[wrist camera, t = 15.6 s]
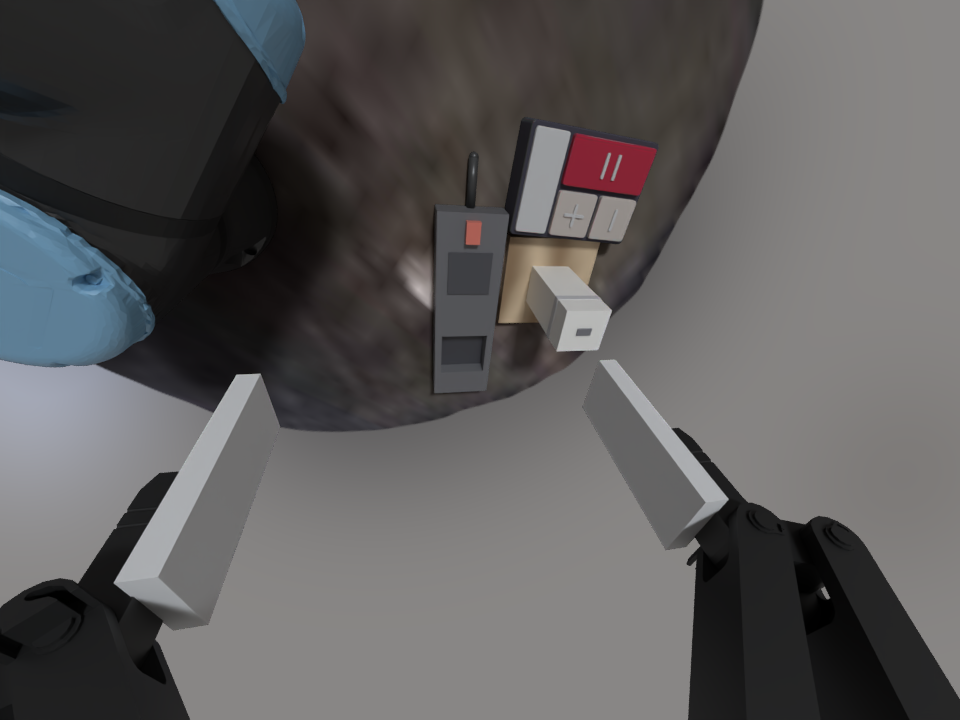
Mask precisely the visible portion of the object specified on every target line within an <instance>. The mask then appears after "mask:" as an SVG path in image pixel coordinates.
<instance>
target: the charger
mask: <svg viewBox="0 0 960 720" xmlns="http://www.w3.org/2000/svg"><path fill="white" fill-rule="evenodd" d="M526 302H527V304H528V305H529V307H530V309H531V310H532V312H533V313H534V315H535V317H536V318H537V320H538V322H539V323H540V325H541V327H542V328H543V330H544V331H545V333H546V336H547V338H548V339H549V340H550V341H551V343H552V345H553V346H554V348H555V350H556V351H582V350H598V348H599V346H600V343H601V340H602V337H603V335H604V332H605V329H606V326H607V323H608V320H609V317H610V315H611V312H612V310H611V309H610V308H609V307H608V306H607V305H606V304H605V303H604V302H603V301H602V300H601V298H600V297H599V296H597V295H596V294H595V293H594V292H593V291H592V290H591V289H590V288H589V287H588V286H587V285H586V284H585V283H584V282H583V281H582V280H581V279H580V278H579V277H578V276H577V275H576V274H575V273H574V272H573V271H572V270H571V269H570V268H569V267H566V266H532V271H531V276H530V281H529V287H528V292H527V298H526Z"/></svg>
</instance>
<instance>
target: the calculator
mask: <svg viewBox="0 0 960 720" xmlns="http://www.w3.org/2000/svg"><path fill="white" fill-rule="evenodd" d="M658 147H659V146H658V144H657V143H655V142H650V141H645V140H640V139H635V138H630V137H625V136H620V135H615V134H610V133H605V132H600V131H595V130H590V129H585V128H580V127H575V126H570V125H564V124H559V123H554V122H549V121H544V120H539V119H534V118H528V117H524V118H523V119H522V121H521V125H520V130H519V135H518V140H517V146H516V151H515V156H514V162H513V167H512V172H511V178H510V183H509V188H508V194H507V199H506V204H505V210H506V211H507V213H508V214H509V221H508V230H509V231H510V232H511V233H512V234H518V235H529V236H539V237H549V238H559V239H570V240H580V241H590V242H601V243H611V244H620V243H621V242H622V240H623V237H624V234H625V232H626V229H627V227H628V224H629V222H630V219H631V217H632V214H633V212H634V209H635V206H636V204H637V201H638V199H639V196H640V194H641V191H642V189H643V186H644V183H645V181H646V178H647V176H648V173H649V171H650V168H651V166H652V163H653V161H654V158H655V155H656V153H657V150H658Z"/></svg>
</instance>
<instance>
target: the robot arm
mask: <svg viewBox="0 0 960 720" xmlns="http://www.w3.org/2000/svg"><path fill="white" fill-rule="evenodd" d="M304 44H305V28H304V22H303V17H302V14H301V11H300V9H299V7H298V4H297V2H296V0H0V360H4V361H9V362H14V363H20V364H25V365H33V366H42V367H65V366H70V365H74V366H87V365H92V364H97V363H100V362H104V361H106V360H109V359H111V358H113V357H115V356H117V355H119V354H120V353H122V352H123V351H125V350H126V349H127V348H128V347H130V346H131V345H132V344H134V343H136V342H137V341H142V340H144V339H145V338H146V336H148V335H150V333H151V332H152V331H153V329H154V326H155V325H156V324H157V323H158V322H159V321H160V320H161V319H162V318H163V317H164V316H165V315H166V314H167V313H168V312H169V311H171V310H172V309H173V308H174V307H175V306H176V305H177V304H178V303H179V302H180V301H181V300H182V299H183V298H184V297H185V296H186V295H188V294H189V293H190V292H191V291H192V290H193V289H194V288H195V287H196V286H197V285H198V284H199V283H200V282H201V281H202V280H204V279H205V278H206V277H207V276H208V275H209V274H215V273H220V272H226V271H231V270H234V269H237V268H240V267H242V266H244V265H246V264H248V263H250V262H251V261H253V260H254V259H255V258H256V257H257V256H258V255H259V254H260V253H261V252H262V251H263V250H264V249H265V248H266V247H267V245H268V244H269V242H270V241H271V239H272V237H273V235H274V232H275V229H276V224H277V203H276V198H275V194H274V190H273V187H272V185H271V182H270V180H269V178H268V176H267V174H266V172H265V170H264V168H263V167H262V165H261V163H260V162H259V160H258V159H257V158H256V156H255V155H254V152H255V150H256V148H257V146H258V144H259V142H260V140H261V138H262V136H263V134H264V132H265V130H266V128H267V126H268V124H269V122H270V120H271V118H272V116H273V114H274V112H275V110H276V108H277V106H278V104H279V102H280V103H281V104H284V103H285V101H286V98H287V92H286V88H287V86H288V84H289V81H290V79H291V77H292V74H293V72H294V70H295V67H296V65H297V63H298V61H299V58H300V56H301V54H302V51H303V48H304ZM583 409H584V411H585V412H586V414H587V416H588V418H589V419H590V421H591V423H592V424H593V426H594V428H595V430H596V431H597V433H598V435H599V436H600V438H601V440H602V442H603V443H604V445H605V447H606V448H607V450H608V452H609V454H610V455H611V457H612V459H613V460H614V462H615V464H616V466H617V467H618V469H619V471H620V472H621V474H622V476H623V478H624V479H625V481H626V483H627V484H628V486H629V488H630V490H631V491H632V493H633V495H634V496H635V498H636V500H637V501H638V503H639V505H640V507H641V509H642V510H643V512H644V514H645V515H646V517H647V519H648V520H649V522H650V524H651V526H652V527H653V529H654V531H655V533H656V534H657V536H658V538H659V539H660V541H661V543H662V545H663V546H664V548H665V550H670V549H676V548H682V547H686V546H687V545H688V544H689V543H690V542H691V541H692V540H693V539H694V538H696V540H697V541H698V543H699V544H700V547H699V548H698V549H697V550H696V551H695V552H694V554H692V555H691V557H690V558H689V559H688V561H687V565H689V566H691V565H692V564H693V562H695V561H696V560H697V562H696V568H695V569H696V580H695V599H694V620H693V638H692V657H691V676H690V695H689V715H688V720H960V699H959V697H958V696H957V694H956V692H955V691H954V689H953V687H952V686H951V684H950V683H949V681H948V679H947V678H946V676H945V674H944V673H943V671H942V670H941V668H940V667H939V665H938V663H937V661H936V660H935V658H934V656H933V655H932V653H931V652H930V650H929V648H928V647H927V645H926V644H925V642H924V640H923V639H922V637H921V635H920V634H919V632H918V630H917V629H916V627H915V626H914V624H913V622H912V621H911V619H910V618H909V616H908V614H907V613H906V611H905V609H904V608H903V606H902V604H901V603H900V601H899V600H898V598H897V596H896V595H895V593H894V592H893V590H892V588H891V586H890V585H889V583H888V582H887V580H886V578H885V577H884V575H883V573H882V572H881V570H880V569H879V567H878V565H877V564H876V562H875V560H874V559H873V557H872V556H871V554H870V552H869V551H868V549H867V547H866V546H865V544H864V543H863V542H862V541H861V540H860V538H859V537H858V536H857V535H856V534H855V533H854V532H852V531H851V530H850V529H849V528H847V527H846V526H844V525H842V524H841V523H839V522H838V521H835V520H833V519H830V518H828V517H821V516H818V517H815V518H813V519H811V520H810V521H809V522H808V523H807V524H800V523H795V522H790V521H785V520H780V519H779V518H778V517H777V516H775V515H774V514H773V513H772V512H771V511H769V510H767V509H766V508H764V507H762V506H760V505H757V504H754V503H748V502H747V501H746V500H745V499H744V498H743V497H742V496H741V495H740V494H739V492H738V491H737V490H736V489H735V488H734V487H733V485H732V484H731V483H730V482H729V481H728V479H727V478H726V477H725V476H724V475H723V474H722V472H721V471H720V470H719V469H718V468H717V467H716V465H715V464H714V463H713V462H711V460H710V458H709V457H708V456H707V455H706V454H705V453H703V452H702V449H701V448H700V447H699V445H698V444H697V443H696V442H695V441H694V440H693V438H691V437H690V436H689V435H687V434H686V433H684V432H683V431H682V430H681V429H679V428H673V429H671V428H670V426H669V425H668V424H667V423H666V421H665V420H664V419H663V418H662V417H661V415H660V414H659V413H658V412H657V411H656V409H655V408H654V407H653V405H652V404H651V403H650V402H649V401H648V399H647V398H646V397H645V396H644V394H643V393H642V392H641V391H640V389H639V388H638V387H637V386H636V385H635V383H634V382H633V381H632V380H631V378H630V377H629V376H628V375H627V373H626V372H625V371H624V370H623V369H622V367H621V366H620V365H619V364H618V362H617V361H616V360H599V362H598V365H597V368H596V371H595V373H594V376H593V379H592V382H591V384H590V387H589V390H588V393H587V396H586V398H585V401H584V404H583ZM279 429H280V426H279V423H278V420H277V417H276V415H275V412H274V409H273V406H272V404H271V401H270V398H269V395H268V393H267V390H266V387H265V384H264V382H263V379H262V376H261V374H242V375H236V376H235V378H234V380H233V381H232V383H231V385H230V387H229V388H228V390H227V392H226V393H225V395H224V397H223V398H222V400H221V402H220V403H219V405H218V407H217V409H216V410H215V412H214V414H213V416H212V417H211V419H210V420H209V422H208V424H207V426H206V427H205V429H204V431H203V433H202V434H201V436H200V438H199V439H198V441H197V442H196V444H195V446H194V448H193V449H192V451H191V453H190V455H189V456H188V458H187V460H186V461H185V463H184V464H183V466H182V468H181V470H180V471H179V472H168V473H159V474H158V475H157V476H156V477H154V478H153V479H152V480H151V481H150V482H149V483H148V484H147V485H145V486H144V487H143V488H142V489H141V490H140V491H139V493H138V494H137V496H136V497H135V499H134V500H133V502H132V503H131V505H130V506H129V508H128V509H127V510H128V511H127V513H125V514H124V515H123V517H122V518H121V520H120V521H119V523H118V524H117V528H116V529H114V530H113V532H112V533H111V535H110V536H109V538H108V539H107V541H106V542H105V544H104V545H103V547H102V548H101V550H100V551H99V553H98V554H97V556H96V558H95V559H94V560H93V562H92V563H91V565H90V566H89V568H88V569H87V571H86V573H85V574H84V576H83V577H82V579H81V580H80V582H79V583H78V584H77V583H76V582H74V581H73V580H68V579H61V578H59V579H55V580H50V581H45V582H42V583H40V584H38V585H36V586H33V587H31V588H29V589H27V590H24V591H23V592H21V593H20V594H18V595H17V596H15V597H14V598H12V599H11V600H10V601H8V602H7V603H5V604H4V605H3V606H2V607H1V608H0V720H190V718H189V716H188V714H187V711H186V709H185V706H184V704H183V701H182V699H181V696H180V694H179V691H178V689H177V687H176V684H175V682H174V679H173V677H172V674H171V672H170V669H169V667H168V665H167V662H166V660H165V657H164V655H163V652H162V650H161V647H160V645H159V643H158V642H157V641H156V640H155V638H156V636H157V634H158V632H159V629H160V627H161V625H162V623H164V624H166V625H167V626H168V627H169V628H171V629H172V630H179V629H185V628H191V627H197V626H203V625H208V624H209V621H210V618H211V616H212V613H213V610H214V607H215V605H216V602H217V599H218V596H219V594H220V591H221V588H222V585H223V583H224V580H225V577H226V575H227V572H228V569H229V566H230V563H231V561H232V558H233V555H234V552H235V550H236V547H237V544H238V541H239V539H240V536H241V533H242V531H243V528H244V525H245V522H246V520H247V517H248V514H249V511H250V509H251V506H252V503H253V501H254V498H255V495H256V492H257V490H258V487H259V484H260V481H261V478H262V476H263V473H264V470H265V467H266V465H267V462H268V459H269V457H270V454H271V451H272V448H273V446H274V443H275V440H276V437H277V435H278V432H279ZM823 587H825V588H826V590H827V592H828V594H829V596H830V599H828V600H827V599H826V598H825V596H824V594H823V593H822V590H821V588H823Z"/></svg>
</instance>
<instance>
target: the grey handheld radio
mask: <svg viewBox="0 0 960 720" xmlns="http://www.w3.org/2000/svg"><path fill="white" fill-rule="evenodd" d="M478 158H479V156H478V154H477V153H476V152H471V153H470V155H469V167H468V183H467V200H466V206H458V205H439V204H435V234H434V327H433V386H434V393H450V392H468V391H486V388H487V381H488V373H489V366H490V358H491V350H492V343H493V335H494V328H495V320H496V312H497V305H498V297H499V290H500V282H501V274H502V267H503V259H504V251H505V244H506V236H507V229H508V221H509V214H508V213H507V211H506V210H505V209H504V208H497V207H478V206H475V198H476V185H477V172H478Z"/></svg>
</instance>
